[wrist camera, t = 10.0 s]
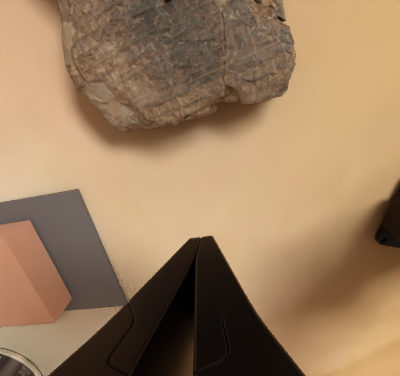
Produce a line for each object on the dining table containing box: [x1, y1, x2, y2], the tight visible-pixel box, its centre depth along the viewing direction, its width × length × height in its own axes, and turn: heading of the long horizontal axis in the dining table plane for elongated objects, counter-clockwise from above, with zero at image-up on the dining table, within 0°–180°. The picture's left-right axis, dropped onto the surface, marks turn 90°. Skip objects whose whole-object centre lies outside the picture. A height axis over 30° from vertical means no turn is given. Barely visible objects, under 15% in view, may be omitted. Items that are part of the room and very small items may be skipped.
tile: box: [0, 220, 72, 327], centre depth 24 cm, size 3×10×9 cm
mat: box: [0, 189, 128, 311], centre depth 26 cm, size 16×14×1 cm
